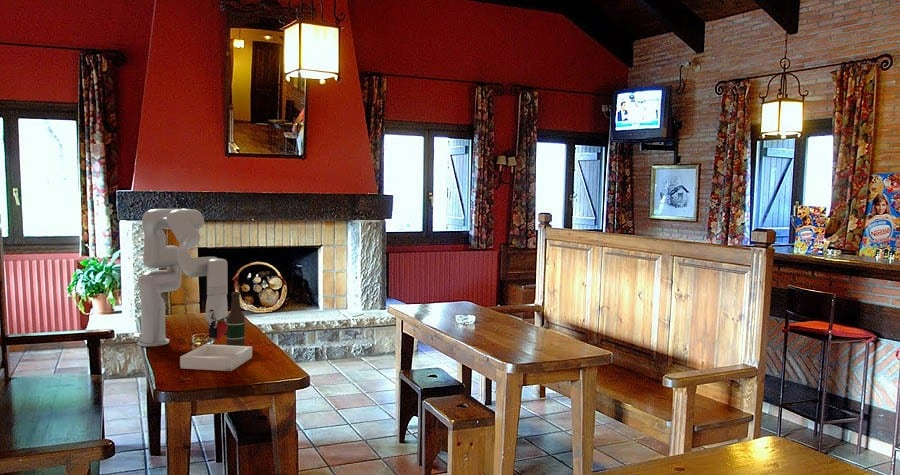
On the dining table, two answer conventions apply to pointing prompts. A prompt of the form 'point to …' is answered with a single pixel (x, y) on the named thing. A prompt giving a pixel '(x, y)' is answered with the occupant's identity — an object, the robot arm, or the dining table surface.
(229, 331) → the beer bottle
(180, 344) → the dining table surface
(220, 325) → the strawberry
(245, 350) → the tray
